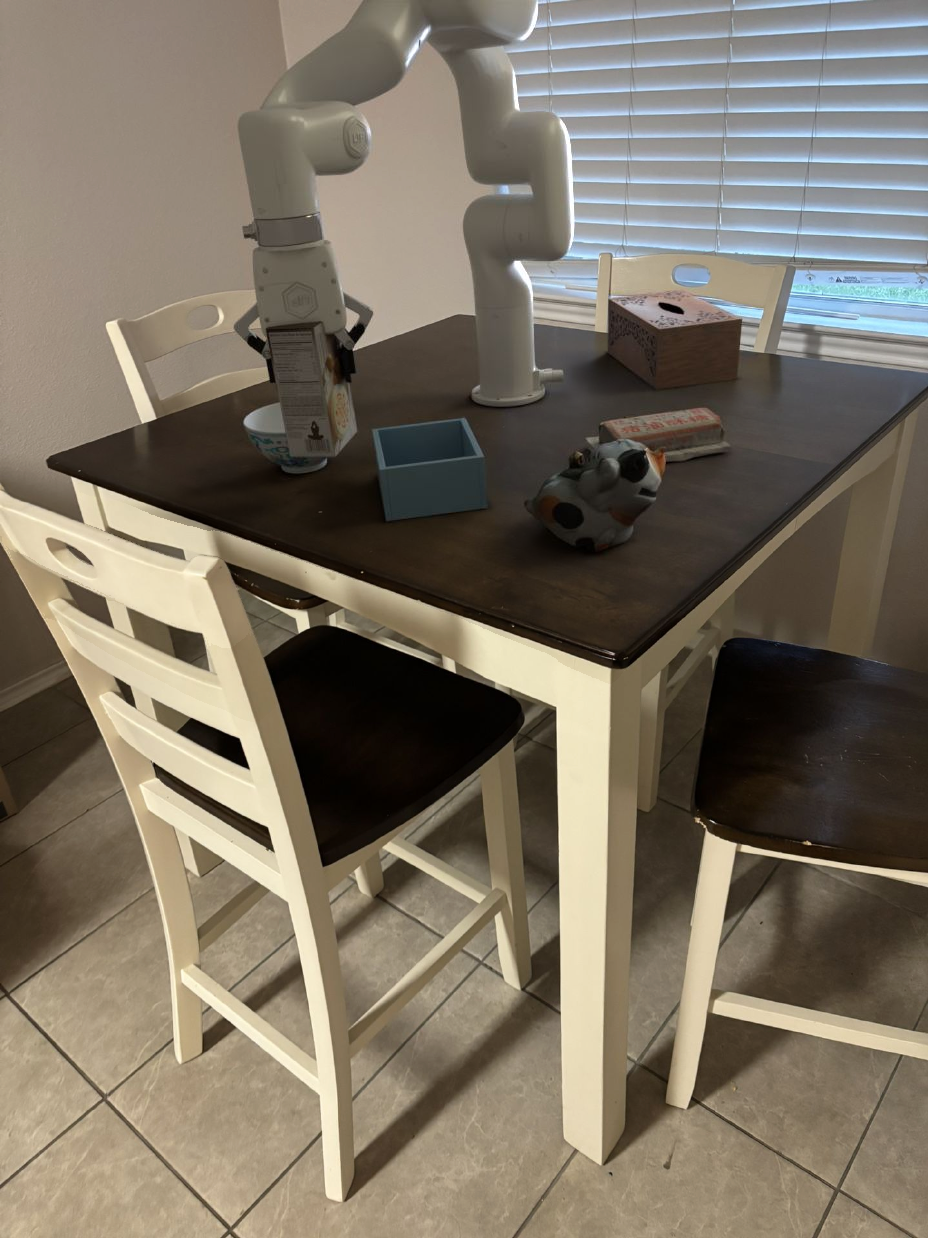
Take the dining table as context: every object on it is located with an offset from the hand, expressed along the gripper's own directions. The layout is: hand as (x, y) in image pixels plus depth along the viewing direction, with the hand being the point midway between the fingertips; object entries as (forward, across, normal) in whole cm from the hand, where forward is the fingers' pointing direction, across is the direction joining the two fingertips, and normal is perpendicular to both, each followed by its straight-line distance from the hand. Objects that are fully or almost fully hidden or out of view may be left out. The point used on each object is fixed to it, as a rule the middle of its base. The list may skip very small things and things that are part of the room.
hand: (314, 383), depth 111 cm
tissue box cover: (+16, +62, +44) cm, 78 cm away
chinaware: (+17, -4, +16) cm, 23 cm away
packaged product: (+17, +46, +4) cm, 49 cm away
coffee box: (+8, 0, 0) cm, 8 cm away
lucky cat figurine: (+17, +31, -18) cm, 39 cm away
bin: (+16, +13, 0) cm, 21 cm away
